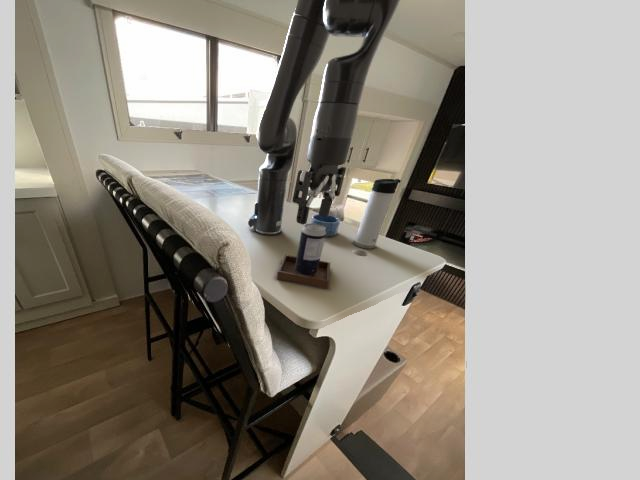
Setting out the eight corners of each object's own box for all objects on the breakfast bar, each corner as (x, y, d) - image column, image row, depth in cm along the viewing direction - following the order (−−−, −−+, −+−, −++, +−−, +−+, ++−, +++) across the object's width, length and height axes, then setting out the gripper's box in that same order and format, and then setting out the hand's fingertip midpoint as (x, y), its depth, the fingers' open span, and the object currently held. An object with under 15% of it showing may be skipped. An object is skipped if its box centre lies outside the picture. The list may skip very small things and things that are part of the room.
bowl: (308, 234, 88) (311, 220, 85) (310, 226, 95) (313, 212, 92) (336, 238, 86) (339, 224, 83) (336, 229, 93) (340, 216, 90)
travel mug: (377, 250, 79) (404, 181, 68) (355, 247, 80) (378, 179, 69) (373, 242, 84) (397, 177, 73) (352, 240, 85) (373, 175, 74)
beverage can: (319, 271, 66) (330, 226, 59) (312, 280, 62) (323, 233, 55) (298, 265, 68) (307, 221, 61) (290, 273, 64) (298, 227, 57)
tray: (276, 278, 63) (277, 271, 61) (283, 261, 71) (285, 254, 69) (326, 288, 60) (328, 281, 59) (328, 269, 68) (330, 262, 66)
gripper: (334, 132, 53) (316, 210, 63) (292, 132, 45) (279, 220, 55) (368, 136, 49) (343, 218, 59) (328, 136, 41) (307, 231, 51)
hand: (312, 219), depth 57 cm, fingers open, 8 cm apart
